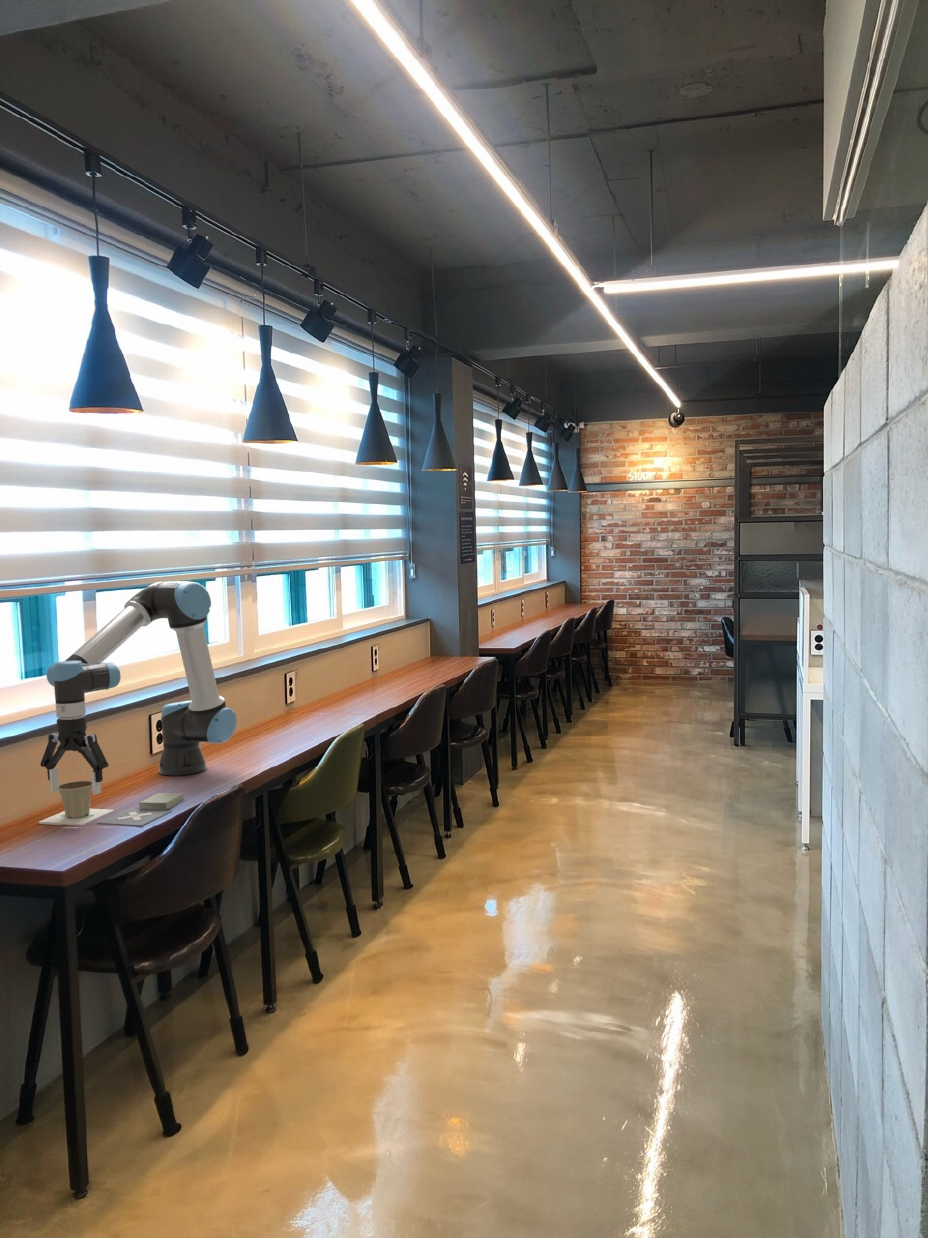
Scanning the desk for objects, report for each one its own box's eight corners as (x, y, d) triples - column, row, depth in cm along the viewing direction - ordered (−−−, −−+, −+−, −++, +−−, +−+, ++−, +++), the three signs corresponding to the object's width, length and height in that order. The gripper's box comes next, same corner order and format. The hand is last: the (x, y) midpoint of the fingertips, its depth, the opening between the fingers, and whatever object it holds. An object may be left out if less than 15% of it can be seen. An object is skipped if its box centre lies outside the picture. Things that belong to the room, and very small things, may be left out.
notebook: (157, 800, 280) (156, 793, 280) (183, 800, 280) (183, 793, 280) (139, 809, 268) (139, 802, 268) (166, 809, 268) (166, 802, 268)
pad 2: (128, 810, 270) (128, 807, 270) (171, 812, 267) (171, 810, 266) (97, 825, 257) (96, 822, 257) (142, 827, 253) (142, 824, 253)
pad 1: (72, 809, 273) (72, 807, 273) (114, 812, 269) (114, 809, 269) (38, 823, 259) (38, 821, 259) (82, 826, 256) (82, 823, 256)
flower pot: (52, 816, 263) (50, 786, 263) (84, 808, 271) (82, 778, 270) (70, 822, 258) (68, 790, 257) (102, 813, 265) (100, 783, 264)
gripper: (23, 718, 262) (28, 794, 263) (101, 720, 255) (106, 798, 257) (42, 713, 269) (47, 787, 271) (118, 715, 262) (123, 791, 264)
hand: (75, 792), depth 264 cm, fingers open, 13 cm apart
